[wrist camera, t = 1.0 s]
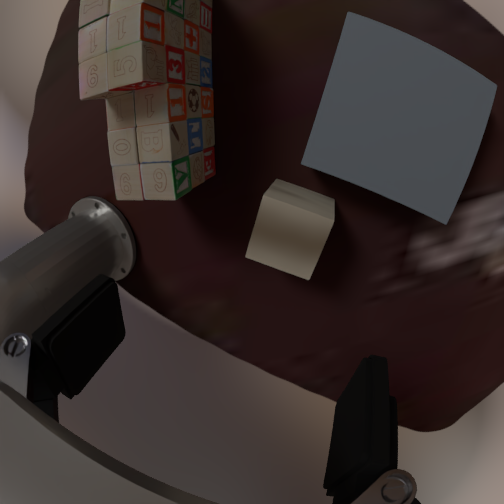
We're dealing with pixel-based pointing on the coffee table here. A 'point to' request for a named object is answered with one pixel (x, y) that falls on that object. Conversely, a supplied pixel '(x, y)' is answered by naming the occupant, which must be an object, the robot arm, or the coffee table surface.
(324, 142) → the slate base plinth
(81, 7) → the stack of blocks
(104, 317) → the robot arm
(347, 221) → the coffee table surface
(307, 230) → the cream block
